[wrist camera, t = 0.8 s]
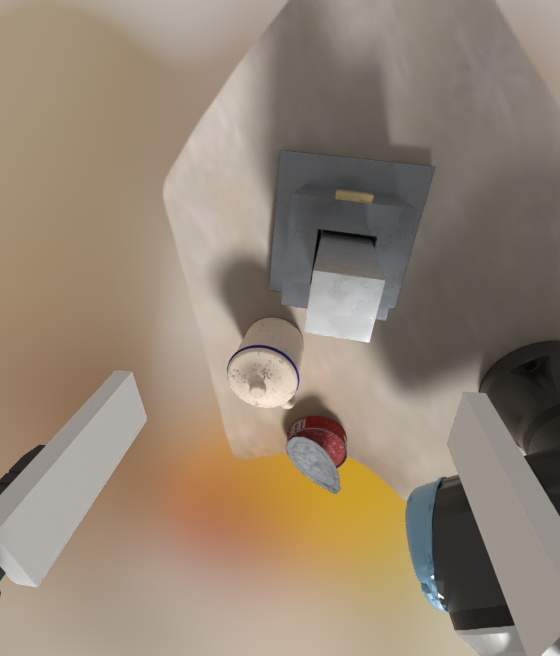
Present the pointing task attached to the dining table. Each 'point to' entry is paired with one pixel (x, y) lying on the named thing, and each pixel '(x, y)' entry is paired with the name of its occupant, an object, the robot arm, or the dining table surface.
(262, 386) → the teacup with lid
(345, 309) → the post
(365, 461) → the dining table surface
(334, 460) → the canned food
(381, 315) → the stand
